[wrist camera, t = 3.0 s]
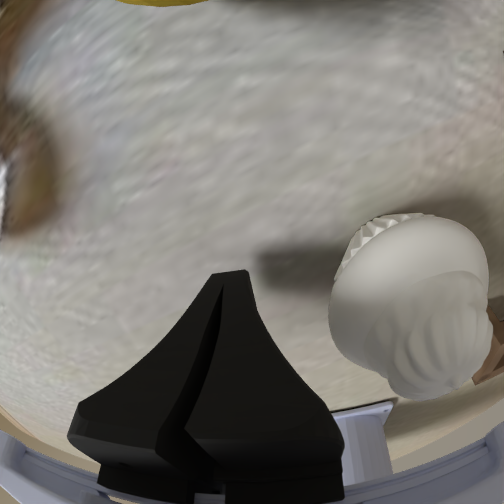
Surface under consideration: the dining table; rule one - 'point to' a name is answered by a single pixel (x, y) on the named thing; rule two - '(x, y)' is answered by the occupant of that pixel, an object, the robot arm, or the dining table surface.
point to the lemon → (161, 2)
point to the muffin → (413, 303)
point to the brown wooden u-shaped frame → (492, 352)
